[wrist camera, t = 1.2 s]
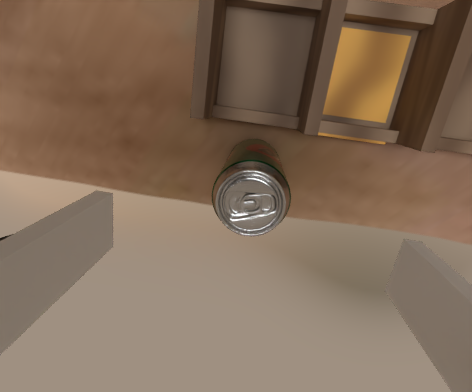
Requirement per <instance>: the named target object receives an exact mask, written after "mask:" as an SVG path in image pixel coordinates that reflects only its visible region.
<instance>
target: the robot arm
mask: <svg viewBox="0 0 472 392" xmlns="http://www.w3.org/2000/svg"><path fill="white" fill-rule="evenodd" d="M112 247H113V193H108V192H102V191H95V192H93V193H91V194H89V195H87V196H85V197H83V198H82V199H80V200H78V201H76V202H74V203H72V204H70V205H68V206H66V207H64V208H62V209H60V210H59V211H57V212H55V213H53V214H51V215H49V216H47V217H45V218H44V219H41V220H40V221H38V222H36V223H34V224H32V225H30V226H28V227H26V228H25V229H22V230H20V231H19V232H17V233H15V234H12V235H9V236H5V237H2V238H0V355H1V354H2V353H3V352H4V351H5V350H6V349H7V348H8V347H9V346H10V345H11V344H12V343H13V342H14V341H16V340H17V339H18V338H19V337H20V336H21V335H22V334H23V333H24V332H25V331H26V330H27V329H28V328H29V327H30V326H31V325H32V324H33V323H34V322H35V321H36V320H37V319H38V318H39V317H40V316H41V315H43V313H45V312H46V311H47V310H48V309H49V308H50V307H51V306H52V305H53V304H54V303H55V302H56V301H57V300H58V299H59V298H60V297H61V296H62V295H63V294H64V293H65V292H66V291H67V290H68V289H69V288H70V287H72V286H73V285H74V284H75V283H76V282H77V281H78V280H79V279H80V278H81V277H82V276H83V275H84V274H85V273H86V272H87V271H88V270H89V269H90V268H91V267H92V266H93V265H94V264H95V263H97V261H98V260H100V259H101V258H102V257H103V256H104V255H105V254H106V253H107V252H108V251H109V250H110V249H111V248H112ZM385 292H386V294H387V295H388V296H389V298H390V300H391V301H392V303H393V304H394V306H395V307H396V309H397V310H398V311H399V313H400V315H401V316H402V318H403V319H404V321H405V322H406V324H407V325H408V327H409V328H410V330H411V331H412V333H413V334H414V336H415V337H416V339H417V340H418V342H419V343H420V345H421V346H422V348H423V349H424V351H425V352H426V354H427V355H428V357H429V358H430V360H431V361H432V363H433V364H434V366H435V367H436V369H437V370H438V372H439V373H440V375H441V376H442V378H443V379H444V381H445V383H446V384H447V386H448V387H449V388H450V390H451V392H472V284H471V283H469V282H468V281H467V280H466V279H465V278H464V277H462V276H461V275H460V274H459V273H458V272H456V271H455V270H454V269H453V268H452V267H451V266H449V265H448V264H447V263H446V262H445V261H444V260H442V259H441V258H440V257H439V256H438V255H437V254H435V253H434V252H433V251H432V250H431V249H430V248H428V247H427V246H426V245H425V244H424V243H423V242H420V241H415V240H408V239H403V242H402V245H401V248H400V251H399V253H398V256H397V259H396V262H395V264H394V267H393V270H392V273H391V275H390V278H389V281H388V284H387V287H386V289H385Z"/></svg>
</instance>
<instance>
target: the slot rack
mask: <svg viewBox="0 0 472 392" xmlns="http://www.w3.org/2000/svg"><path fill="white" fill-rule="evenodd" d="M210 117H216V118H223V119H230V120H237V121H244V122H251V123H258V124H265V125H272V126H279V127H286V128H293V129H298V130H299V131H300V132H302V133H303V134H307V135H314V136H318V135H322V136H329V137H336V138H343V139H349V140H356V141H363V142H370V143H377V144H384V145H385V142H390V143H396V144H399V145H403V146H406V147H409V148H413V149H416V150H419V151H425V152H431V153H435V151H436V149H438V150H445V151H452V152H459V153H466V154H472V0H455V1H453V2H451V3H449V4H447V5H445V6H443V7H441V8H440V9H431V8H424V7H416V6H408V5H400V4H393V3H385V2H377V1H369V0H199V11H198V24H197V37H196V50H195V62H194V75H193V88H192V101H191V114H190V118H196V119H203V120H204V119H207V118H210Z"/></svg>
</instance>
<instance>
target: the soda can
mask: <svg viewBox="0 0 472 392" xmlns="http://www.w3.org/2000/svg"><path fill="white" fill-rule="evenodd" d="M290 201H291V194H290V188H289V185H288V182H287V179H286V176H285V174H284V171H283V168H282V165H281V162H280V160H279V157H278V154H277V152H276V151H275V149H274V148H273V147H272V146H271V145H270V144H269V143H267V142H265V141H263V140H259V139H249V140H245V141H243V142H241V143H239V144H238V145H237V146H236V147H235V148H234V149H233V150H232V152H231V154H230V155H229V157H228V159H227V161H226V163H225V165H224V166H223V168H222V170H221V172H220V174H219V175H218V177H217V179H216V181H215V183H214V186H213V190H212V203H213V207H214V210H215V212H216V214H217V216H218V217H219V219H220V220H221V221H222V223H223V224H224V225H225V226H226V227H227V228H228V229H230V230H231V231H233V232H235V233H237V234H240V235H244V236H258V235H262V234H265V233H267V232H269V231H271V230H273V228H275V227H276V226H277V225H278V224H279V223H280V222H281V221H282V220H283V219H284V217H285V216H286V214H287V212H288V210H289V206H290Z"/></svg>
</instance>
